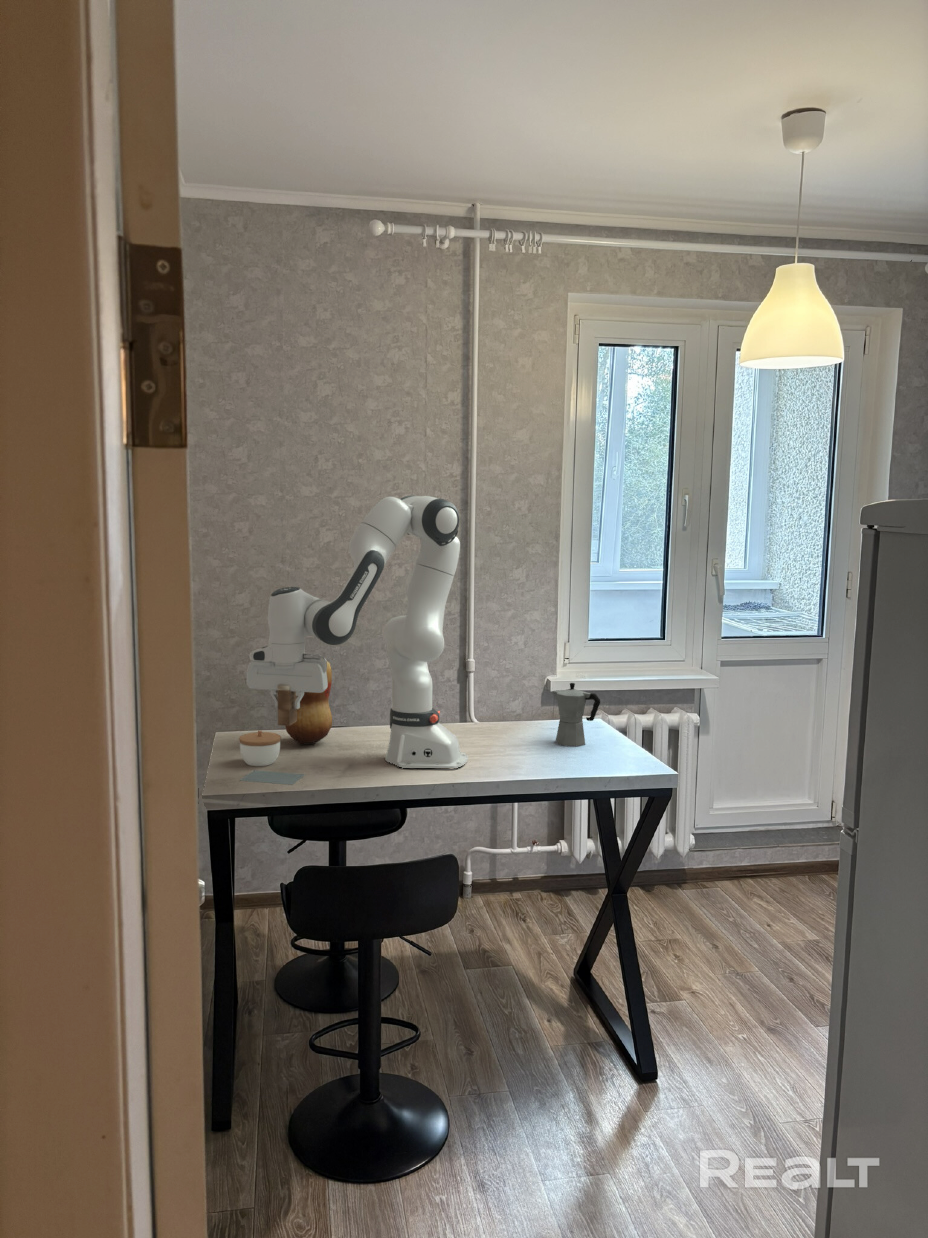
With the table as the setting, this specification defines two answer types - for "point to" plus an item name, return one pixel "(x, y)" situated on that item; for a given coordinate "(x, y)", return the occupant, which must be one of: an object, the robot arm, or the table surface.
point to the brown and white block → (286, 705)
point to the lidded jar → (260, 748)
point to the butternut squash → (313, 715)
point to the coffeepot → (573, 715)
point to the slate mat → (272, 777)
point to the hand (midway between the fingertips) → (287, 708)
